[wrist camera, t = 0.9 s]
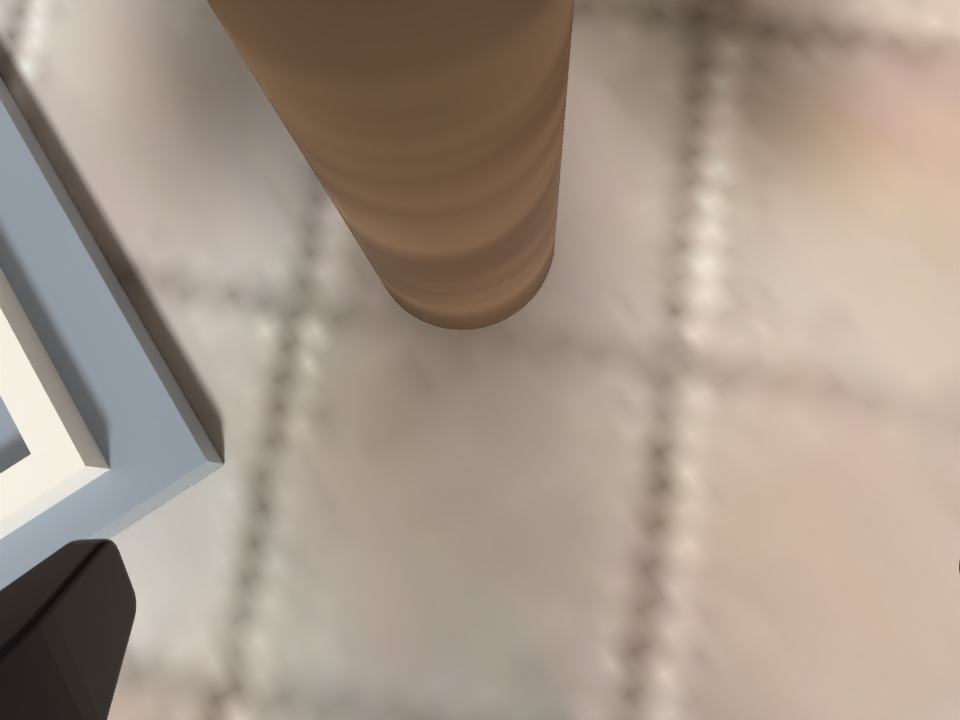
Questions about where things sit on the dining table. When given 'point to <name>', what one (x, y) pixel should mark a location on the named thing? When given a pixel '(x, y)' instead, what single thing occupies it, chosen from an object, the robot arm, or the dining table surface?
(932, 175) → the dining table surface
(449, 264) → the walnut column
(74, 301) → the baseplate
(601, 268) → the dining table surface
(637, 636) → the dining table surface
